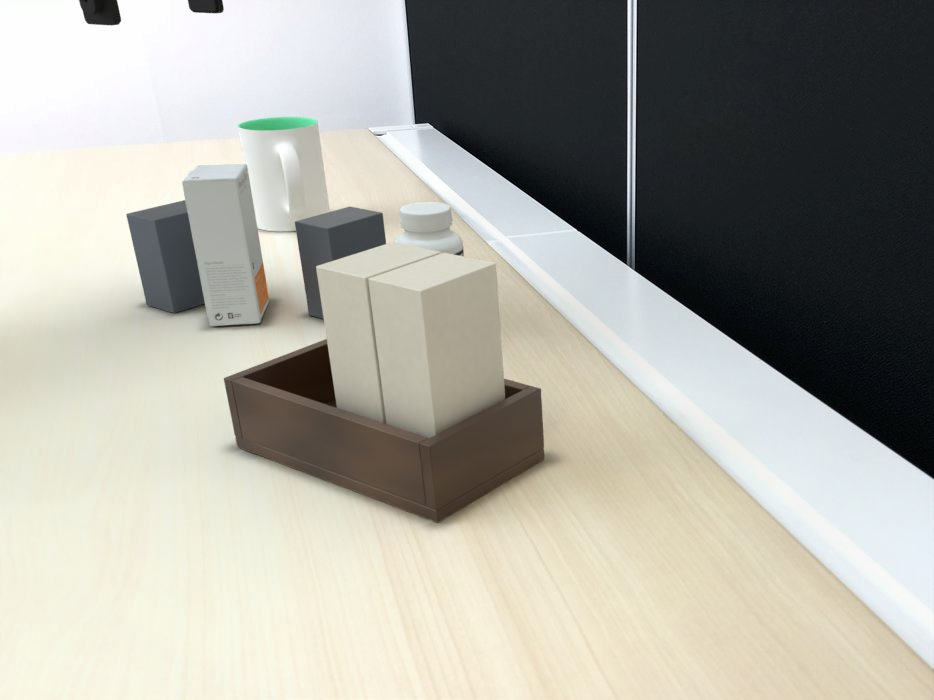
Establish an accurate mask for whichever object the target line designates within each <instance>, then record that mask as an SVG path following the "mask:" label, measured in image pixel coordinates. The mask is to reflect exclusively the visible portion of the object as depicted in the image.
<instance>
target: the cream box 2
mask: <svg viewBox="0 0 934 700" xmlns="http://www.w3.org/2000/svg"><path fill="white" fill-rule="evenodd" d="M497 274H498V273H497V263H495V262H491V261H487V260H482V259H476V258H472V257H467V256H464V257H463V256H458V255H453V254H449V253H442V254H439V255H436V256H433V257H430V258H427V259H424V260H421V261H418V262H415V263H412V264H409V265H407V266H404V267H401V268H398V269H395V270H392V271H389V272H386V273H383V274H380V275H377V276H374V277H371V278H369V279H368V281H369V289H370V297H371V305H372V313H373V321H374V328H375V336H376V344H377V352H378V360H379V368H380V376H381V384H382V392H383V400H384V407H385V415H386V423H387V424H388V425H391V426H394V427H397V428H400V429H403V430H406V431H409V432H412V433H415V434H418V435H421V436H424V437H427V438H430V437H432V436H434V435H436V434H438V433H440V432H442V431H444V430H446V429H448V428H450V427H452V426H454V425H456V424H458V423H460V422H462V421H464V420H466V419H468V418H469V417H471V416H473V415H475V414H477V413H479V412H481V411H483V410H485V409H487V408H489V407H491V406H493V405H495V404H497V403H499V402H501V401H503V400H505V386H504V379H505V374H504V360H503V346H502V332H501V331H502V330H501V317H500V303H499V290H498V289H499V288H498V287H499V286H498V275H497Z"/></svg>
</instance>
